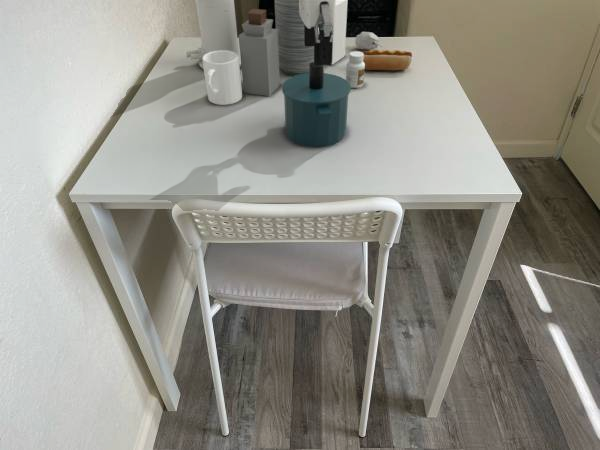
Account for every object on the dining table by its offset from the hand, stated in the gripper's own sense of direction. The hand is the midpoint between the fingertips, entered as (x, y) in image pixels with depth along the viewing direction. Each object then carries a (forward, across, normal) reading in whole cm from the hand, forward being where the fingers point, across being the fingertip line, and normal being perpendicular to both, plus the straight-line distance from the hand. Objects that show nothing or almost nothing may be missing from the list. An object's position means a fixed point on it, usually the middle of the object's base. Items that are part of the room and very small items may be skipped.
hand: (317, 54), depth 86 cm
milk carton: (+16, -39, +11) cm, 44 cm away
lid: (+7, 0, 0) cm, 7 cm away
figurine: (+16, -43, +24) cm, 52 cm away
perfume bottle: (+16, -23, -9) cm, 30 cm away
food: (+16, -29, +24) cm, 41 cm away
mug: (+16, -18, -19) cm, 31 cm away
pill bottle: (+16, -21, +14) cm, 30 cm away
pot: (+16, 0, 0) cm, 16 cm away
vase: (+16, -33, +2) cm, 37 cm away
